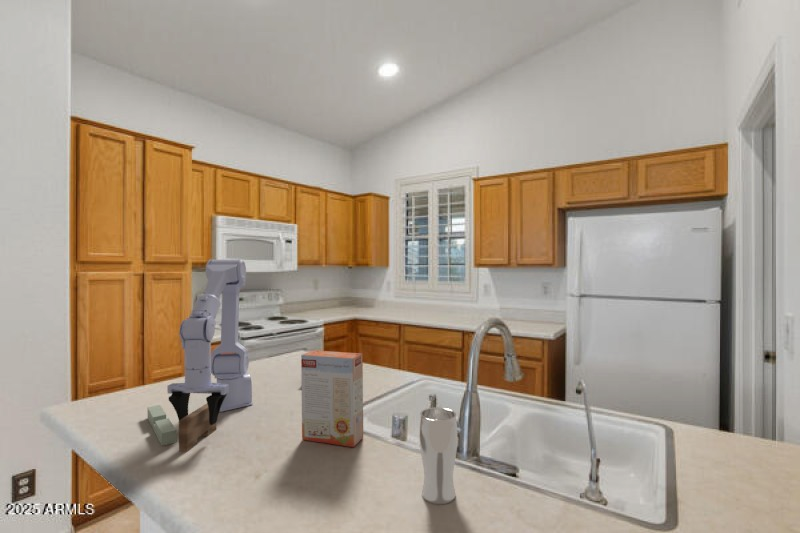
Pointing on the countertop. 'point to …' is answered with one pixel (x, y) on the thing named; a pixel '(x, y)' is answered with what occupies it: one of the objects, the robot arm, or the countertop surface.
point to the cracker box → (332, 397)
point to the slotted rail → (161, 425)
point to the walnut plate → (194, 428)
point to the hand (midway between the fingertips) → (198, 422)
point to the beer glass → (438, 453)
